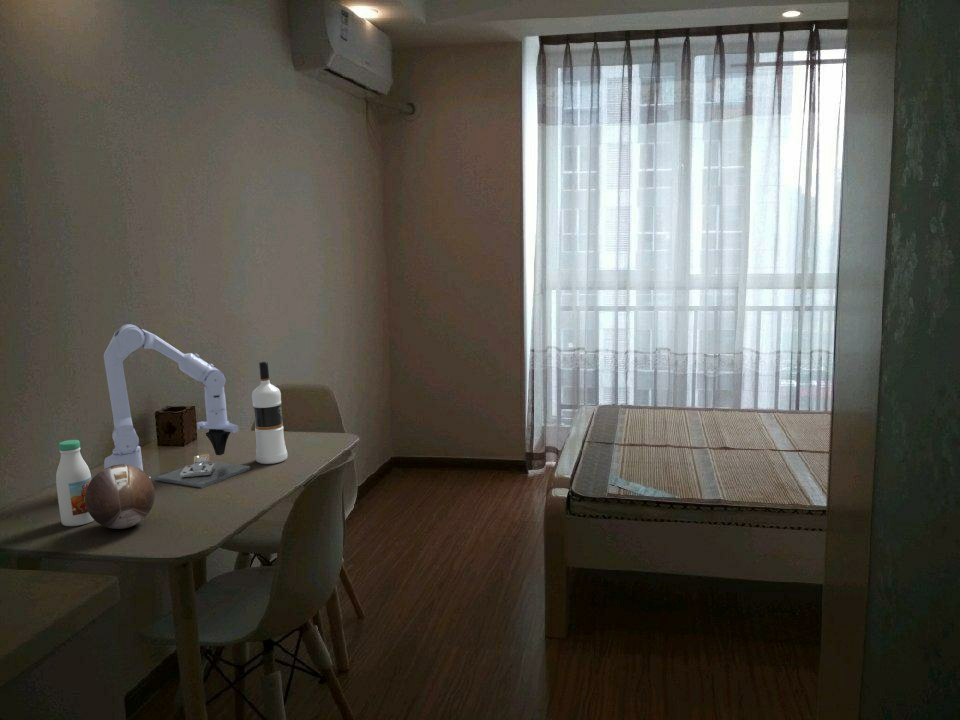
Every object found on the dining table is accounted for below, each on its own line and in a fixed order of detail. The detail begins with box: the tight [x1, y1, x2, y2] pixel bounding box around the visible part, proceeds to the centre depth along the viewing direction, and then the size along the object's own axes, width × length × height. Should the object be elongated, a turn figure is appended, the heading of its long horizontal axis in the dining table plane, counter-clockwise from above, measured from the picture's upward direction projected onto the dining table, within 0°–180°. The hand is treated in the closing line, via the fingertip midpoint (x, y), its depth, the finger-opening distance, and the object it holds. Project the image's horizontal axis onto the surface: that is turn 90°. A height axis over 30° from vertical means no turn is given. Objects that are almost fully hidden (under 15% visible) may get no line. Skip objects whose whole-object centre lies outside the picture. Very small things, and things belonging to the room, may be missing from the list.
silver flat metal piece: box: [180, 453, 215, 477], centre depth 235 cm, size 15×8×2 cm, turn 8°
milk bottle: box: [55, 439, 95, 527], centre depth 197 cm, size 8×8×20 cm
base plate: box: [155, 455, 251, 489], centre depth 233 cm, size 18×18×4 cm
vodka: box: [251, 361, 289, 465], centre depth 242 cm, size 9×9×30 cm
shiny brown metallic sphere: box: [85, 464, 156, 530], centre depth 192 cm, size 15×15×15 cm
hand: (220, 454), depth 240 cm, fingers closed
